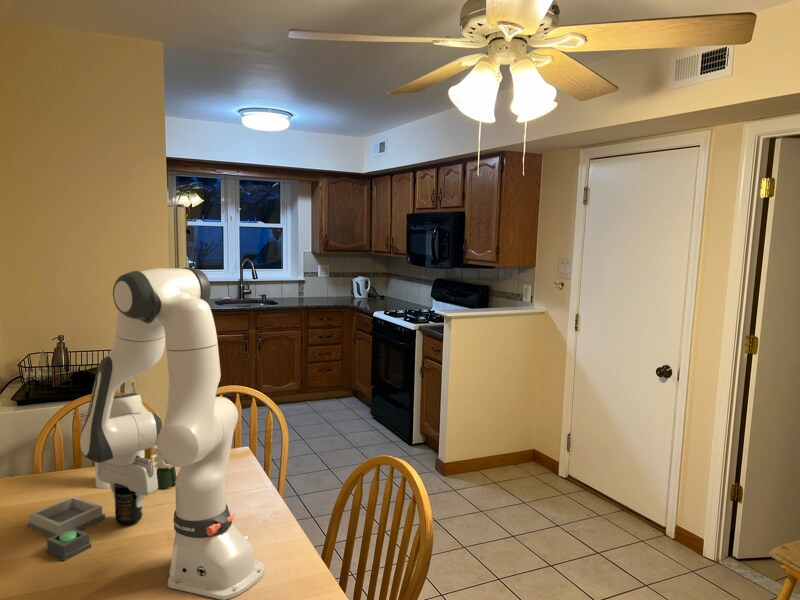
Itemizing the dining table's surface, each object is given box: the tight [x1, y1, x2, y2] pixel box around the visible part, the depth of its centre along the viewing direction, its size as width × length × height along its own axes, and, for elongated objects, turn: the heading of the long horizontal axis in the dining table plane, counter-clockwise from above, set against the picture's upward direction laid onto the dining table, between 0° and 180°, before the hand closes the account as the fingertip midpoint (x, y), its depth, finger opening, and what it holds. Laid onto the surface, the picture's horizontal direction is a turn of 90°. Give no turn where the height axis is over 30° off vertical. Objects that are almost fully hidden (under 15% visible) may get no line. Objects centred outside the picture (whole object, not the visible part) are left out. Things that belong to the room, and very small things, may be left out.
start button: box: [59, 531, 77, 543], centre depth 139 cm, size 4×4×2 cm
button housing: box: [44, 528, 92, 562], centre depth 139 cm, size 7×7×4 cm
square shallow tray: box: [26, 495, 106, 538], centre depth 152 cm, size 13×13×4 cm
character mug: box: [150, 445, 177, 489], centre depth 176 cm, size 11×7×13 cm, turn 153°
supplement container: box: [113, 483, 143, 526], centre depth 153 cm, size 7×7×10 cm
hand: (128, 502), depth 153 cm, fingers closed on supplement container, 7 cm apart
